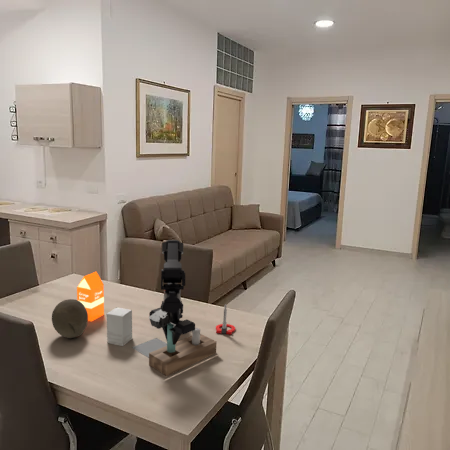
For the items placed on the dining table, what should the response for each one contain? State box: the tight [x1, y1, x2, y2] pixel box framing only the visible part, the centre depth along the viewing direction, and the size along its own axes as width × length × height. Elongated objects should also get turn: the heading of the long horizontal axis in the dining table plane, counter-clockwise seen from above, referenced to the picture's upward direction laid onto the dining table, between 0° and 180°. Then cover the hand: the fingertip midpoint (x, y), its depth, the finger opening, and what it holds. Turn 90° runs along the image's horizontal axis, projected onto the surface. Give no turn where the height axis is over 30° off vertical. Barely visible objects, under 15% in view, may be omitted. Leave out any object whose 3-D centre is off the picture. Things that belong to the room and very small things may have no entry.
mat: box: [131, 337, 167, 359], centre depth 164 cm, size 12×12×1 cm
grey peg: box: [191, 327, 201, 346], centre depth 160 cm, size 3×3×10 cm
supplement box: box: [106, 306, 133, 347], centre depth 168 cm, size 7×7×13 cm
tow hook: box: [215, 304, 236, 335], centre depth 182 cm, size 8×13×9 cm
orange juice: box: [76, 271, 105, 322], centre depth 189 cm, size 8×9×20 cm
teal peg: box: [166, 323, 176, 353], centre depth 151 cm, size 3×3×10 cm
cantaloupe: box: [51, 299, 89, 339], centre depth 170 cm, size 14×14×15 cm
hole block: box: [148, 333, 217, 377], centre depth 156 cm, size 10×24×5 cm, turn 137°
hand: (171, 342), depth 151 cm, fingers closed on teal peg, 3 cm apart
